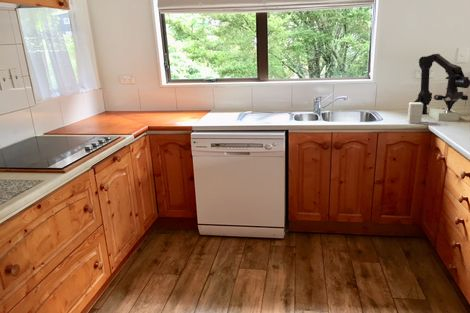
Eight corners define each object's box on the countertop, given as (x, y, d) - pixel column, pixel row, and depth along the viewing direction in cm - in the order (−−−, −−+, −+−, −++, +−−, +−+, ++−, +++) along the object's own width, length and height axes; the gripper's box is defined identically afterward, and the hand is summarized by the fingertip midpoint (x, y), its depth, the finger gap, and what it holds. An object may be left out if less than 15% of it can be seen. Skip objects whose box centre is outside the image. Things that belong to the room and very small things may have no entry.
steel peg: (445, 118, 239) (446, 111, 238) (443, 117, 243) (444, 110, 241) (452, 118, 238) (453, 111, 237) (450, 117, 242) (451, 110, 240)
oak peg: (439, 115, 250) (440, 108, 249) (437, 114, 254) (438, 107, 253) (445, 115, 250) (446, 108, 248) (443, 114, 253) (444, 107, 252)
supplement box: (418, 121, 239) (421, 102, 235) (421, 123, 232) (423, 104, 229) (406, 121, 241) (408, 102, 237) (408, 123, 234) (410, 103, 231)
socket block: (438, 120, 238) (439, 113, 237) (428, 114, 257) (429, 107, 256) (458, 120, 236) (459, 113, 235) (447, 114, 255) (448, 107, 253)
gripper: (440, 88, 229) (437, 112, 233) (473, 88, 225) (469, 113, 230) (435, 86, 239) (431, 109, 244) (466, 85, 235) (462, 109, 240)
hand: (448, 110), depth 239 cm, fingers closed, pressing on steel peg
